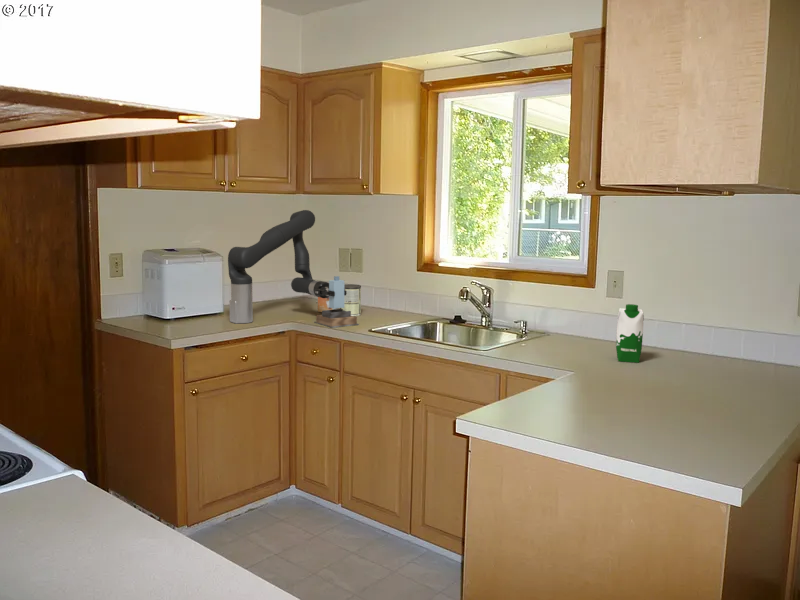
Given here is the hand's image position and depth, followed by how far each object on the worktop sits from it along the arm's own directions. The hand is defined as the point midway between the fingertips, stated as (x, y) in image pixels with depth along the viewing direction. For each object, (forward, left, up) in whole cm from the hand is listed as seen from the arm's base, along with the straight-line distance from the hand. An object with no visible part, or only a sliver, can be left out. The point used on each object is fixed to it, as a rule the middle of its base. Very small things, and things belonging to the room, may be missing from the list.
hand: (339, 293), depth 304 cm
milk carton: (+49, -114, -14) cm, 124 cm away
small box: (+14, +33, -14) cm, 39 cm away
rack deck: (0, +2, -14) cm, 14 cm away
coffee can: (+19, +20, -14) cm, 31 cm away
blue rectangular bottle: (0, +3, -6) cm, 7 cm away
